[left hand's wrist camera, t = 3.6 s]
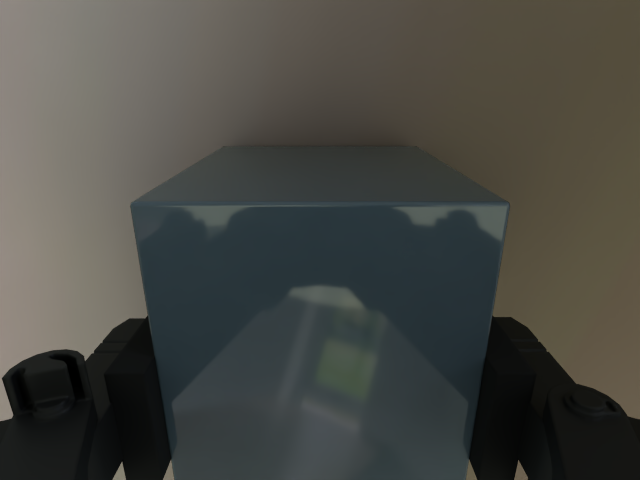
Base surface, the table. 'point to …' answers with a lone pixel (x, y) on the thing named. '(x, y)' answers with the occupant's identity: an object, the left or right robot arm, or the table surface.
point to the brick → (320, 311)
